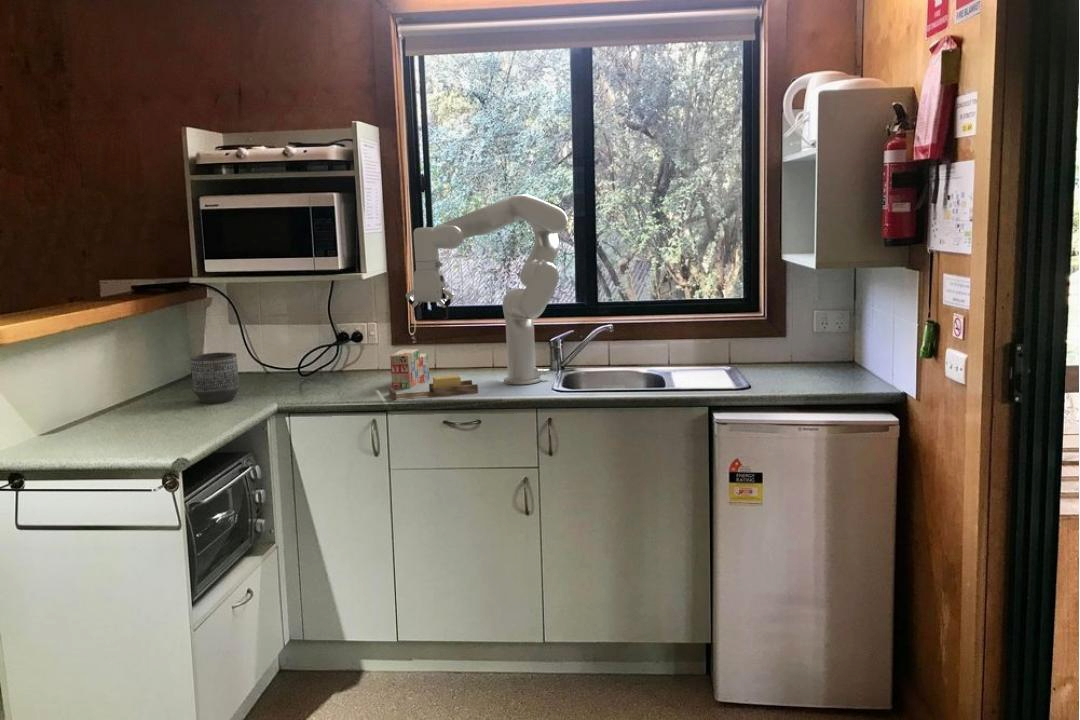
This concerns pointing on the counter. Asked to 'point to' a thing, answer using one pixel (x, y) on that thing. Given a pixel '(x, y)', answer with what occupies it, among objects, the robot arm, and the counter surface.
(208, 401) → the planter
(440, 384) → the block
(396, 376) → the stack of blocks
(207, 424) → the counter surface
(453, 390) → the chute board
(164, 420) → the counter surface
